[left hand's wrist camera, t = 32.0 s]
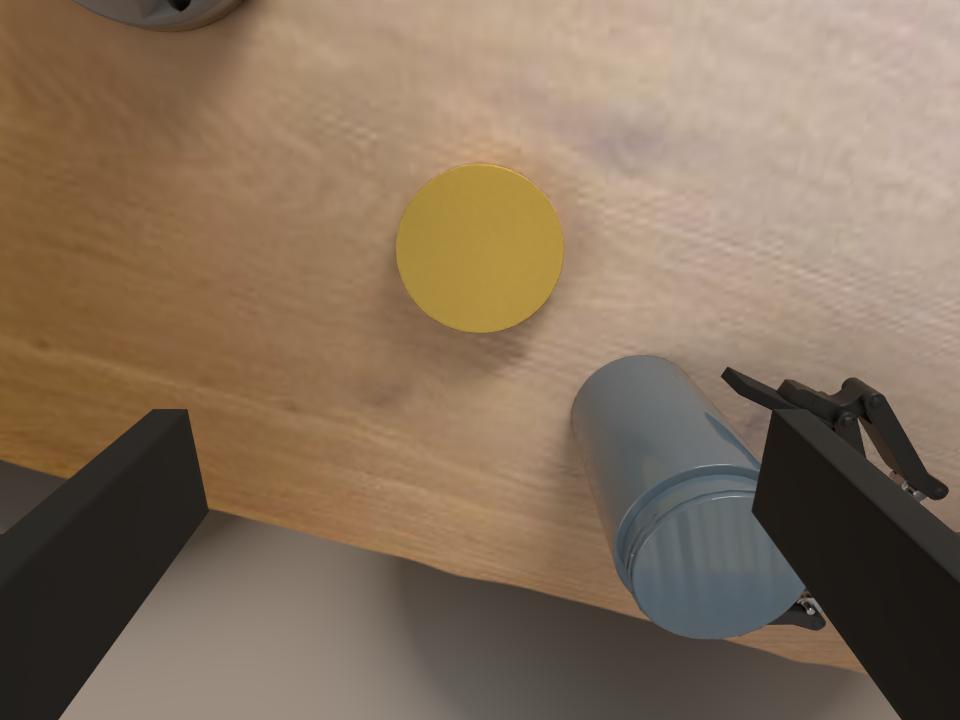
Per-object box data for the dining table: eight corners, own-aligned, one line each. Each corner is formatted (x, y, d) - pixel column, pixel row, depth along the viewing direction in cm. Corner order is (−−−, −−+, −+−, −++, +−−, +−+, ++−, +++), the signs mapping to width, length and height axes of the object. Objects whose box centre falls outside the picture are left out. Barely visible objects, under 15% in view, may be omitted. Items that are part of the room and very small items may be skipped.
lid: (479, 352, 41) (479, 363, 39) (367, 247, 38) (361, 253, 36) (592, 247, 38) (598, 253, 36) (480, 125, 36) (480, 125, 34)
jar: (549, 390, 42) (590, 537, 27) (673, 332, 41) (793, 454, 25) (601, 488, 45) (664, 671, 30) (717, 439, 44) (848, 605, 28)
